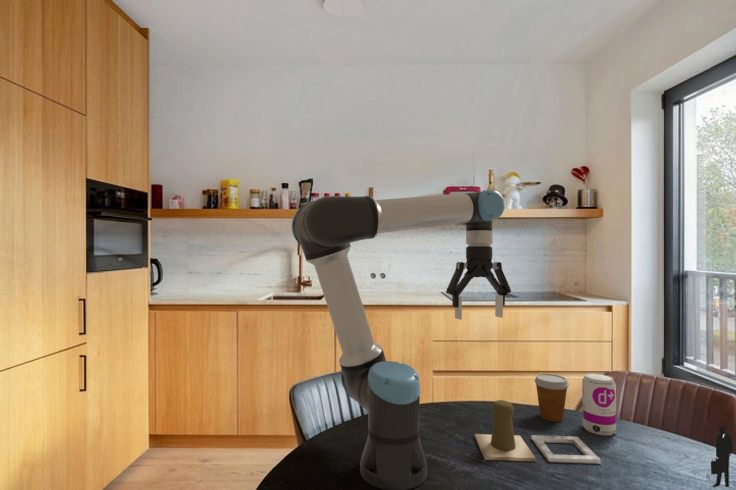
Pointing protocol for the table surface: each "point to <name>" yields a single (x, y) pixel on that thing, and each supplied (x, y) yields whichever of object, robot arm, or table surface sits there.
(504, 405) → the cork
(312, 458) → the table surface
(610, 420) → the supplement can
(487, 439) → the birch board
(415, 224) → the robot arm
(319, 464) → the table surface
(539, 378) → the disposable coffee cup
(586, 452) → the shaker dock
